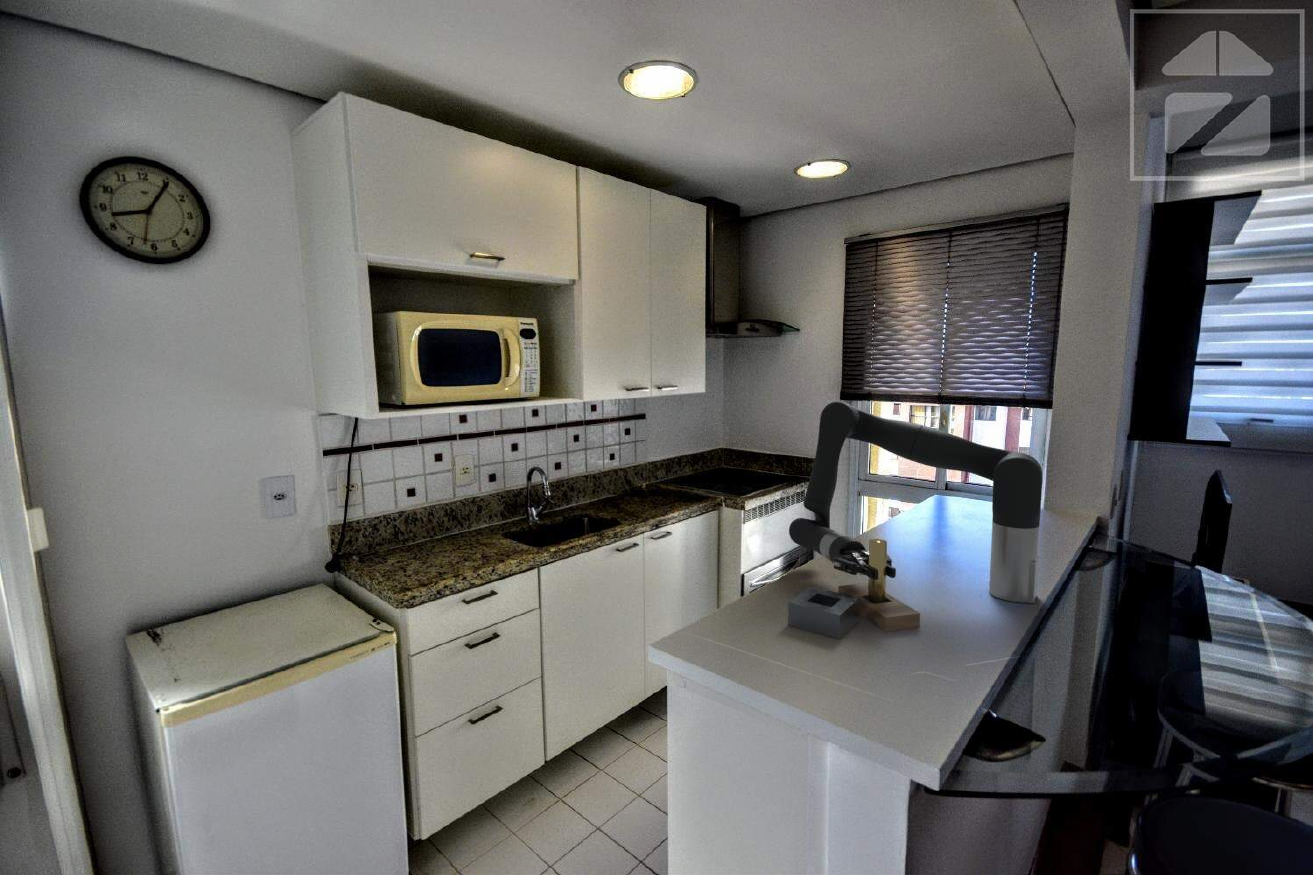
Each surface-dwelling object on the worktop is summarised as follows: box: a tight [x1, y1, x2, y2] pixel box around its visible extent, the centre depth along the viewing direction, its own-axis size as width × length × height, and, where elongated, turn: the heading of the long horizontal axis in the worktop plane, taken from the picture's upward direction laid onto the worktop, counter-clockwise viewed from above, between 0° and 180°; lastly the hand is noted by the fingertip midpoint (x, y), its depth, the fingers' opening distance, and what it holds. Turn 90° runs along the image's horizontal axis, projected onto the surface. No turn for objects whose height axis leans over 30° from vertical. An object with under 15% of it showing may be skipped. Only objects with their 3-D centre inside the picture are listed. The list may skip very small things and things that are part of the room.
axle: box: [867, 538, 888, 604], centre depth 125 cm, size 4×4×16 cm
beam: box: [837, 582, 921, 633], centre depth 126 cm, size 18×8×3 cm, turn 13°
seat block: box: [787, 586, 860, 641], centre depth 121 cm, size 11×11×5 cm
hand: (885, 574), depth 122 cm, fingers closed on axle, 3 cm apart
